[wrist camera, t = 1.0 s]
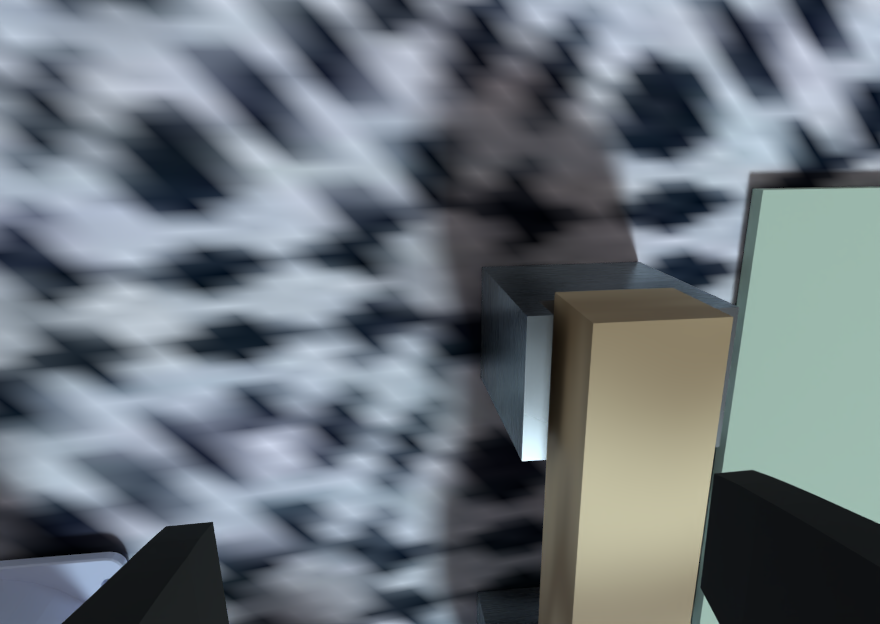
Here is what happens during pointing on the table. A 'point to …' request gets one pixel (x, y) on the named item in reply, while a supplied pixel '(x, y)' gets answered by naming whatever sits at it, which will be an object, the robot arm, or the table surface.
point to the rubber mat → (807, 350)
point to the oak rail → (629, 454)
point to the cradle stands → (546, 367)
